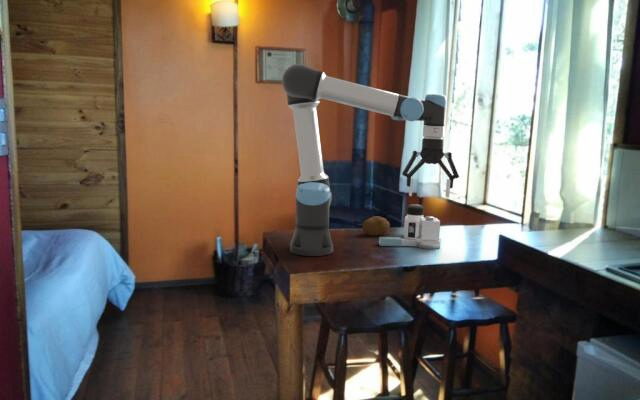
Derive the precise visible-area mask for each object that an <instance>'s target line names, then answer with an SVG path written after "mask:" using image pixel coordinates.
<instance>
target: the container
mask: <svg viewBox="0 0 640 400" xmlns="http://www.w3.org/2000/svg"><path fill="white" fill-rule="evenodd" d="M424 211H425V207H424V206H423V205H421V204H409V205H407V207H406V216H405V217H404V224H403V225H404V226H403V239H416V237H417V236H419V220H420V218H425V217H424Z"/></svg>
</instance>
